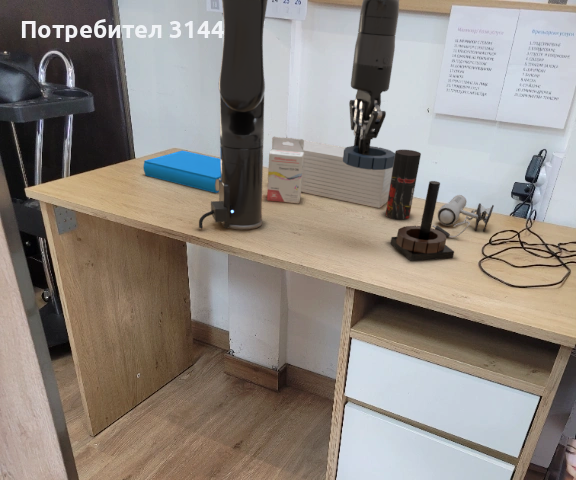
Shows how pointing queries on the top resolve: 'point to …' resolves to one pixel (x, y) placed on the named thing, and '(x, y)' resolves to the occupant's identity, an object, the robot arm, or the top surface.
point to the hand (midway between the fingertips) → (360, 156)
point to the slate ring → (369, 158)
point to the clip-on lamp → (453, 209)
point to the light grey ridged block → (341, 176)
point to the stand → (426, 229)
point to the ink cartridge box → (285, 170)
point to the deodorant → (402, 184)
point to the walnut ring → (409, 241)
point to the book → (186, 170)
